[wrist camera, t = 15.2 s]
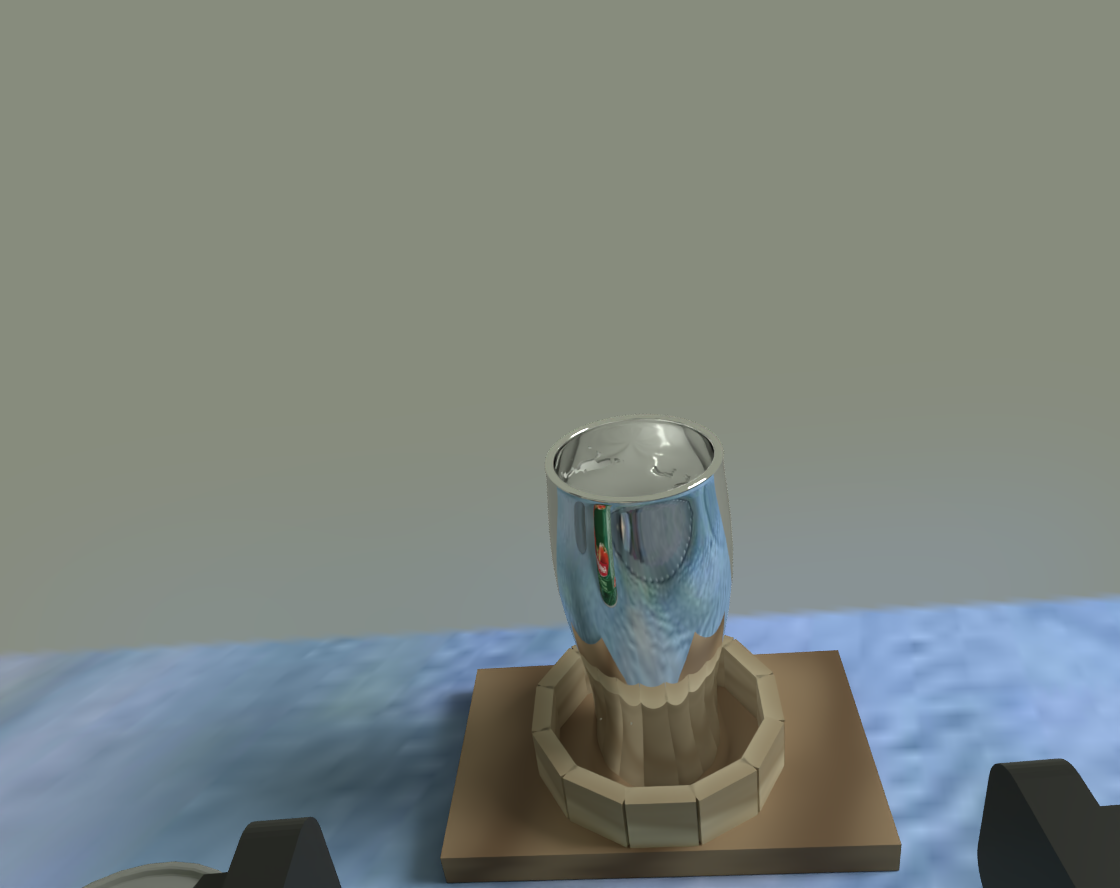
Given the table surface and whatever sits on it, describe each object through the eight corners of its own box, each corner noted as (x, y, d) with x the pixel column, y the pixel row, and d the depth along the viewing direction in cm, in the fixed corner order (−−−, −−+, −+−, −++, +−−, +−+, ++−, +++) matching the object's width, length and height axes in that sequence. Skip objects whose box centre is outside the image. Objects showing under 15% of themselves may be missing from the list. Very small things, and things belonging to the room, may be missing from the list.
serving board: (446, 882, 36) (428, 815, 35) (482, 691, 46) (469, 631, 44) (898, 870, 35) (905, 799, 33) (836, 673, 44) (839, 609, 42)
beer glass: (604, 683, 43) (570, 408, 37) (749, 702, 41) (742, 413, 34) (561, 798, 38) (511, 497, 31) (726, 827, 35) (712, 510, 29)
